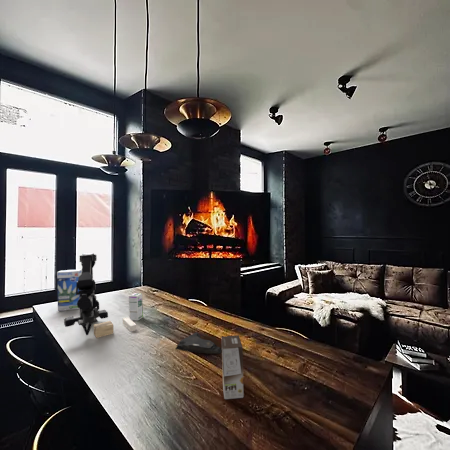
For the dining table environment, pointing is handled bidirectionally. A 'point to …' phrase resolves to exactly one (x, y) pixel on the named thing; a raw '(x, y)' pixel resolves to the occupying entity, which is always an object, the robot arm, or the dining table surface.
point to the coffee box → (232, 367)
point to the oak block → (103, 329)
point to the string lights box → (67, 289)
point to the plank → (129, 324)
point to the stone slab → (198, 345)
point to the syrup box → (135, 306)
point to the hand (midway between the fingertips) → (87, 334)
